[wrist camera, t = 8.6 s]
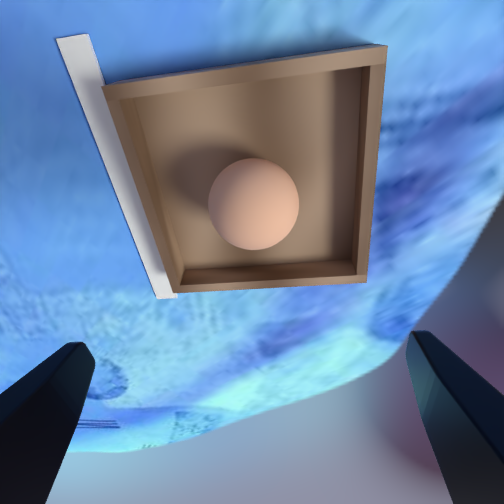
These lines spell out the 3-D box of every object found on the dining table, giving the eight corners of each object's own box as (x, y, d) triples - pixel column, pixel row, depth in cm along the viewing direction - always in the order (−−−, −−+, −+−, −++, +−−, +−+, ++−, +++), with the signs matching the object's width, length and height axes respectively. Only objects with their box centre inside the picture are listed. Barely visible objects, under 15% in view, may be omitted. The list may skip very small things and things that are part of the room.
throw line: (158, 297, 24) (157, 298, 24) (58, 38, 15) (55, 38, 15) (177, 296, 24) (177, 297, 23) (88, 33, 15) (86, 33, 15)
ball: (222, 225, 19) (211, 271, 16) (207, 151, 17) (189, 184, 13) (297, 218, 19) (304, 264, 15) (293, 141, 16) (300, 173, 13)
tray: (180, 273, 22) (173, 293, 21) (119, 80, 16) (101, 86, 14) (359, 262, 21) (366, 282, 19) (374, 43, 14) (387, 45, 13)
